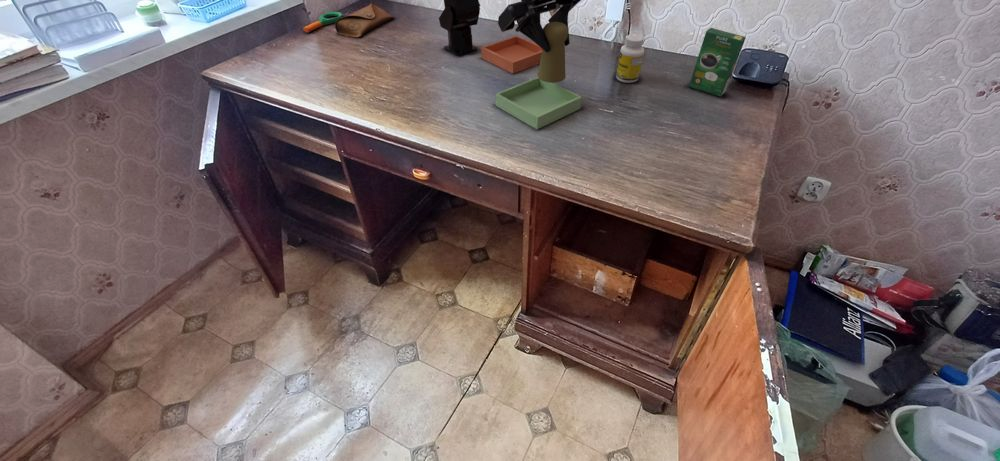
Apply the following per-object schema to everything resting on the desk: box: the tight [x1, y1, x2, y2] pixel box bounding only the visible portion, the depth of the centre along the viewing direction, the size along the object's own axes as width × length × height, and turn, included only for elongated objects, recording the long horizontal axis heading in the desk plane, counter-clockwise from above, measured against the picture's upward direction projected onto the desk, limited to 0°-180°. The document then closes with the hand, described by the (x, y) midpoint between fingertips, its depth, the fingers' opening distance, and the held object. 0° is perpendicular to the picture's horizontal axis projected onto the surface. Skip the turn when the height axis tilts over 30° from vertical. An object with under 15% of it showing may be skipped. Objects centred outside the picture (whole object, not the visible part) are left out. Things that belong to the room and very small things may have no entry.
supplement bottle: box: [615, 33, 645, 84], centre depth 109 cm, size 5×5×10 cm
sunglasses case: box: [334, 2, 395, 38], centre depth 137 cm, size 18×7×7 cm, turn 156°
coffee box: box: [688, 27, 747, 98], centre depth 103 cm, size 8×3×13 cm, turn 50°
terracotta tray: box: [480, 35, 543, 74], centre depth 120 cm, size 12×12×3 cm
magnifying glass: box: [302, 11, 343, 33], centre depth 138 cm, size 15×6×2 cm, turn 158°
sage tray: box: [495, 76, 583, 130], centre depth 101 cm, size 13×13×3 cm
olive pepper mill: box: [537, 22, 569, 84], centre depth 97 cm, size 6×6×11 cm
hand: (558, 48), depth 95 cm, fingers closed on olive pepper mill, 5 cm apart
